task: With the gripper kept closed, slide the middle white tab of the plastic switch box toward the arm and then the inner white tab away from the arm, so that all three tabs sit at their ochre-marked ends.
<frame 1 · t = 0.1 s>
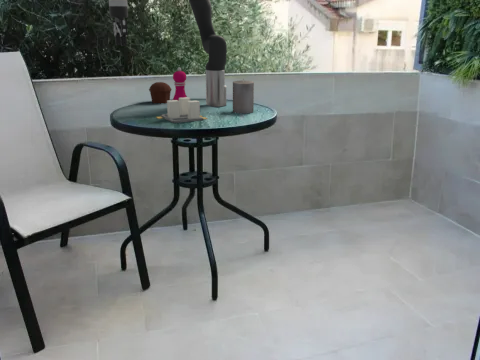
hand: (121, 45, 199), 29 cm above the table, tool pointing down, fingers open, 8 cm apart
tab middle: (173, 109, 190), point 5 cm above the table, slide at 7.0 cm
pepper mill: (180, 112, 211), on the table
muffin: (160, 102, 237), on the table
pillar candle: (243, 112, 213), on the table
switch box: (181, 120, 193), on the table
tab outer: (193, 110, 189), point 5 cm above the table, slide at 0.0 cm
tab inner: (184, 106, 197), point 5 cm above the table, slide at 0.0 cm
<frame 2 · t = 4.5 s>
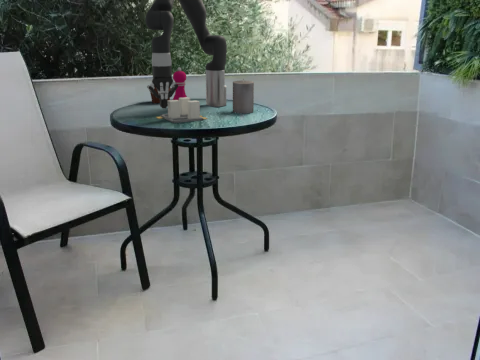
hand: (163, 108, 188), 6 cm above the table, tool pointing down, fingers closed
tab middle: (173, 109, 190), point 5 cm above the table, slide at 6.8 cm, touching gripper
everything else where it was.
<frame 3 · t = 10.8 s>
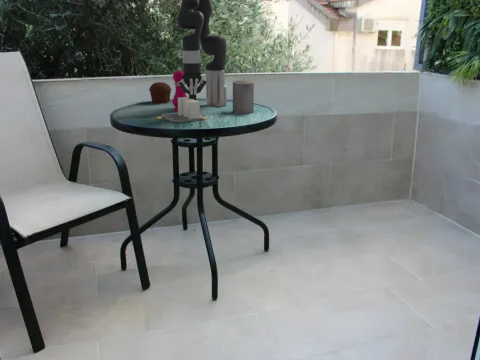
hand: (192, 103, 198), 6 cm above the table, tool pointing down, fingers closed
tab middle: (189, 108, 193), point 5 cm above the table, slide at 0.0 cm
tab inner: (183, 106, 197), point 5 cm above the table, slide at 0.4 cm, touching gripper
everything else where it was.
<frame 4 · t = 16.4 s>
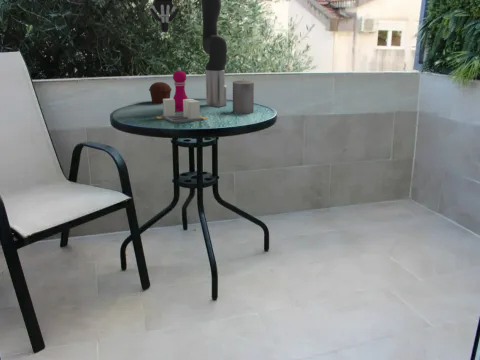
hand: (164, 32, 192), 35 cm above the table, tool pointing down, fingers closed
tab inner: (169, 108, 194), point 5 cm above the table, slide at 7.0 cm
everything else where it was.
at the end: tab middle slide at 0.0 cm; tab inner slide at 7.0 cm; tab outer slide at 0.0 cm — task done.
